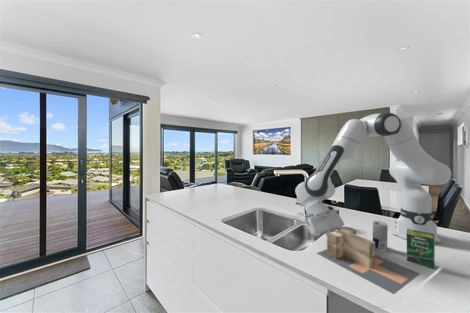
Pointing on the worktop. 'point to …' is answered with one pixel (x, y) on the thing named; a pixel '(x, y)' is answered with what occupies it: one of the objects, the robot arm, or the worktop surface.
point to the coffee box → (420, 248)
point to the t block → (351, 246)
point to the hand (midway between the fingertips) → (336, 240)
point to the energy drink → (380, 235)
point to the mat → (377, 272)
